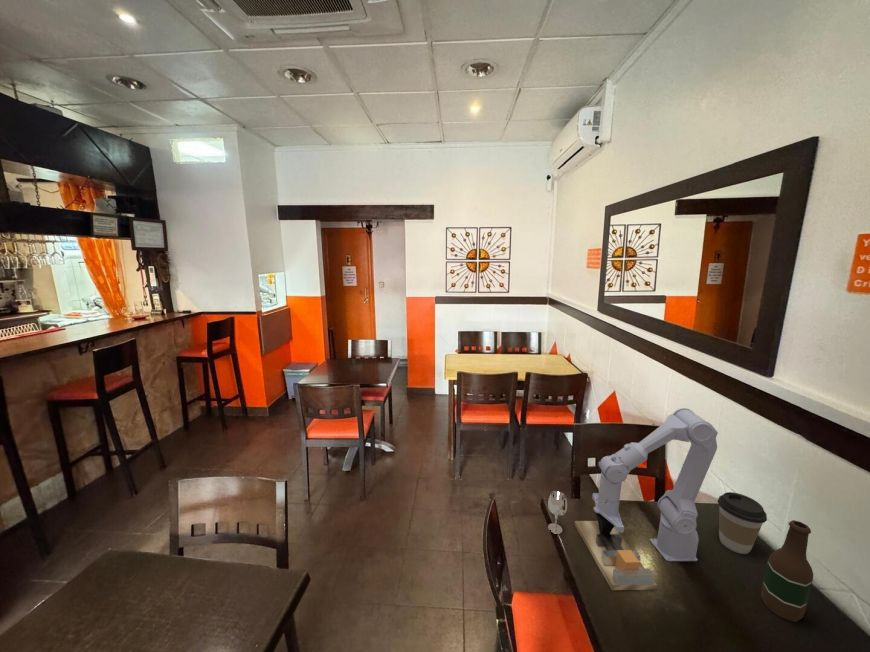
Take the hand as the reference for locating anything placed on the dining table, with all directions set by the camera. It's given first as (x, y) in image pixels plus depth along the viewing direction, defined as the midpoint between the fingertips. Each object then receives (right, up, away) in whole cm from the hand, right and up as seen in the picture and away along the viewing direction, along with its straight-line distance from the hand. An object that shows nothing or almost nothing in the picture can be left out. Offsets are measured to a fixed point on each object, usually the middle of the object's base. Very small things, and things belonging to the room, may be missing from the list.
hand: (604, 535), depth 105 cm
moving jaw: (0, -2, -6) cm, 6 cm away
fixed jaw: (0, -4, -14) cm, 15 cm away
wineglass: (-13, -1, +6) cm, 14 cm away
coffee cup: (+41, -4, +1) cm, 41 cm away
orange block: (0, -3, -11) cm, 12 cm away
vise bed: (0, -3, -5) cm, 6 cm away
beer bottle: (+35, -7, -19) cm, 41 cm away
